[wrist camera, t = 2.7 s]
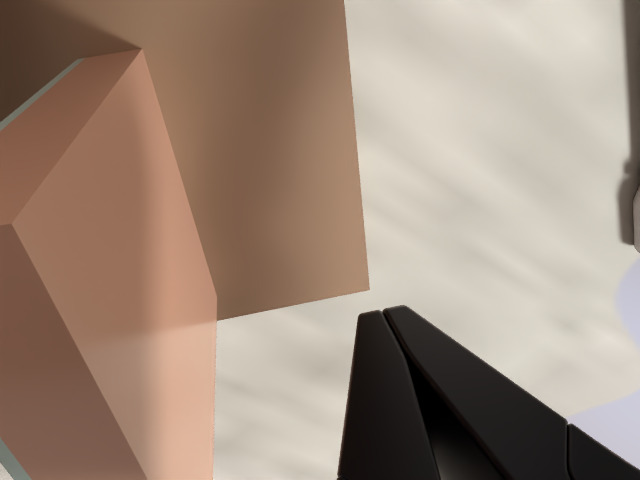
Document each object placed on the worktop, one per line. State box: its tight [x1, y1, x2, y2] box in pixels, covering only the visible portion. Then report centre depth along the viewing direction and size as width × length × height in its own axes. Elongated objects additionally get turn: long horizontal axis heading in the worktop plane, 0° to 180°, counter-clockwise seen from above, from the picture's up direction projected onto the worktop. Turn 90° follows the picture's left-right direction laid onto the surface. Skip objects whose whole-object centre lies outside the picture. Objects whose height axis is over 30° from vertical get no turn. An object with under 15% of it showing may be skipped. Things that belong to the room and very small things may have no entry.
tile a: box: [0, 49, 217, 480], centre depth 11 cm, size 2×8×9 cm, turn 7°
